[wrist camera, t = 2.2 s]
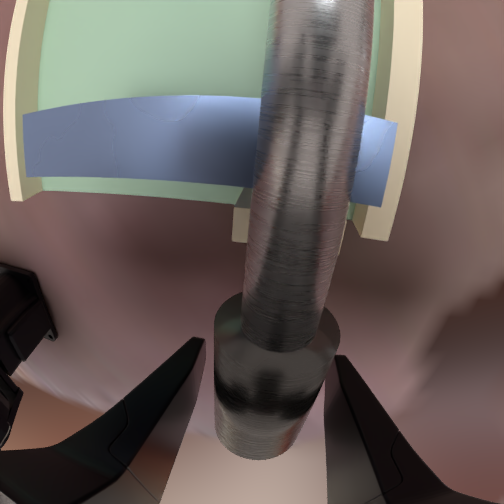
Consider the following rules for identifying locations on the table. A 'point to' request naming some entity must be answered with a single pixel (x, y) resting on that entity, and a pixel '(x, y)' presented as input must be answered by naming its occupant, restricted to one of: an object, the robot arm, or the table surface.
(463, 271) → the table surface
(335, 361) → the robot arm
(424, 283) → the table surface
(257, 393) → the rod
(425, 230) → the table surface
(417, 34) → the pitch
